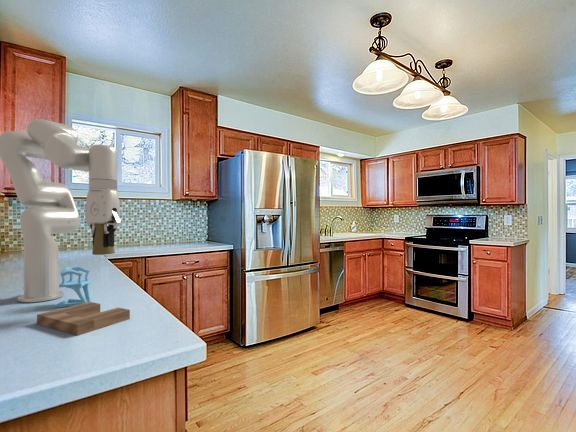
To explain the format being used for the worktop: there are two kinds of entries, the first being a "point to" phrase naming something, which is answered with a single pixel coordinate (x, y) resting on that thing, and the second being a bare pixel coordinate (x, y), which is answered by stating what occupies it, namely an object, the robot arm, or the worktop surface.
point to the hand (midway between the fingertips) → (103, 245)
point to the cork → (101, 241)
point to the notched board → (82, 318)
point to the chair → (75, 286)
